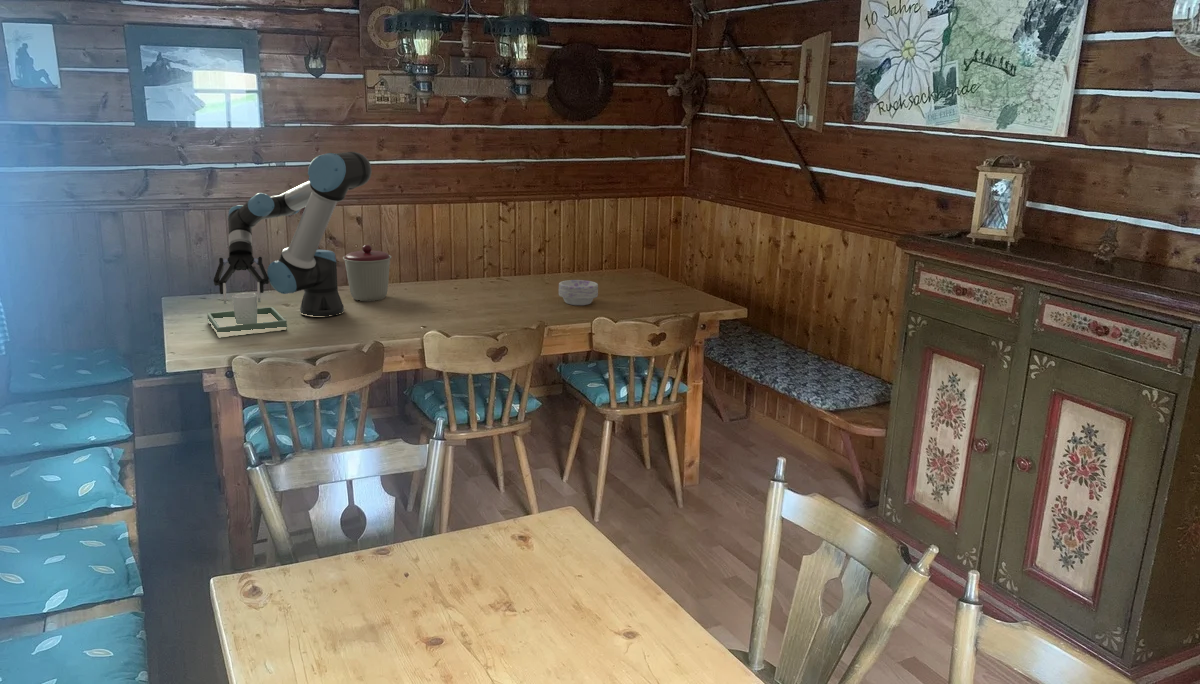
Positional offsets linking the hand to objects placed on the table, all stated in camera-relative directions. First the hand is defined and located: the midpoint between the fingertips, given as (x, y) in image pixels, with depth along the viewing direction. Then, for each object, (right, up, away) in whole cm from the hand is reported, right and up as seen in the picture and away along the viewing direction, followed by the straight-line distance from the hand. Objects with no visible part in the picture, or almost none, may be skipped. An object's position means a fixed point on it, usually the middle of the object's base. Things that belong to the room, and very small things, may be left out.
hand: (242, 300), depth 307 cm
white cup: (0, -8, +5) cm, 9 cm away
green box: (0, -9, +5) cm, 10 cm away
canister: (+30, +3, +48) cm, 57 cm away
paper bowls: (+111, +1, +50) cm, 122 cm away
